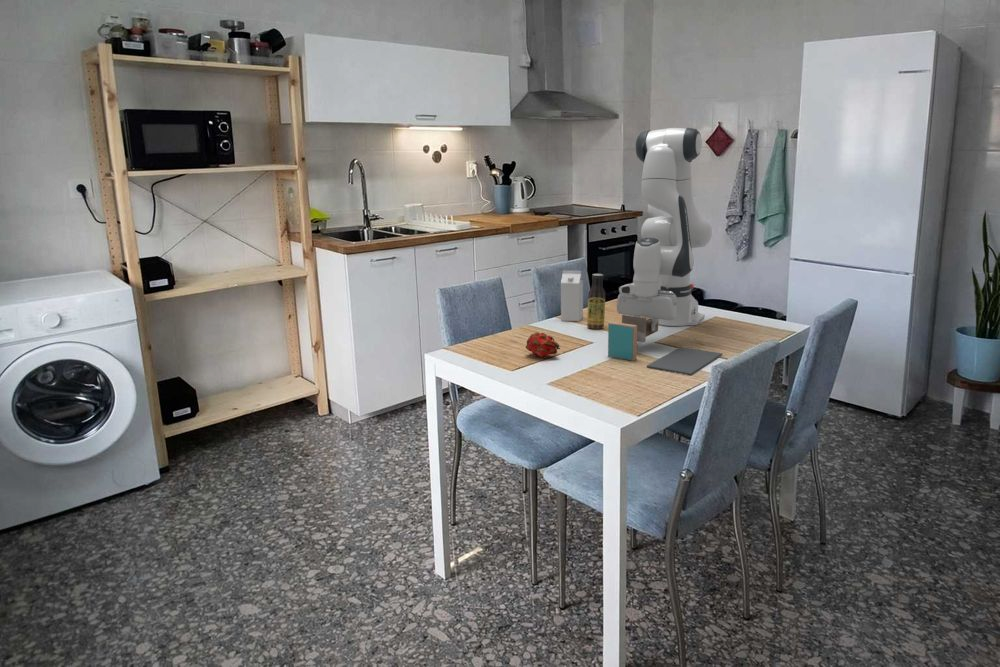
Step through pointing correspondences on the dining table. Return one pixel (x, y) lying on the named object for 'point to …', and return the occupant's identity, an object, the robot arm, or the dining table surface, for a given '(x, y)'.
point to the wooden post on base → (640, 326)
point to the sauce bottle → (596, 303)
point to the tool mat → (685, 360)
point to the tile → (622, 340)
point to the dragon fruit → (542, 345)
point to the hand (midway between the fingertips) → (645, 329)
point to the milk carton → (571, 296)
